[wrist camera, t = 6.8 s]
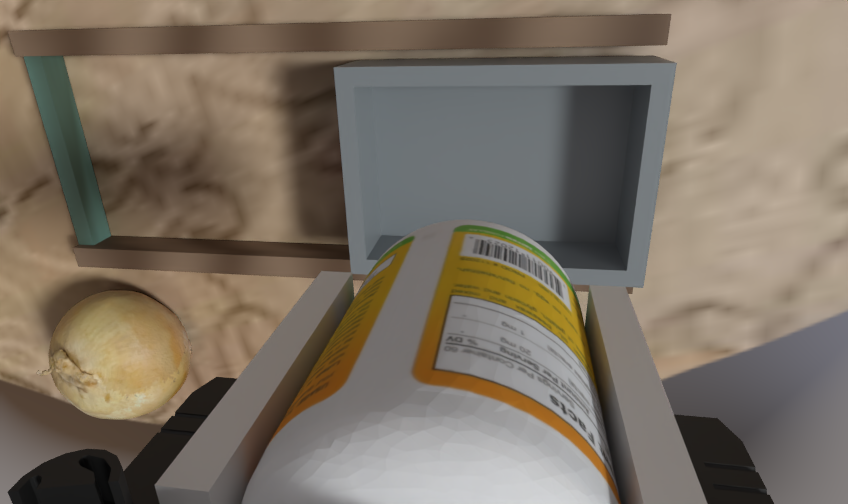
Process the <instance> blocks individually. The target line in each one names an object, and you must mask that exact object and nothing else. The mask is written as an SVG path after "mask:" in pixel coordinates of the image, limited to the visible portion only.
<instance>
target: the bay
mask: <svg viewBox="0 0 848 504" xmlns="http://www.w3.org/2000/svg"><path fill="white" fill-rule="evenodd" d="M670 20H671V14H642V15H603V16H564V17H525V18H486V19H447V20H409V21H370V22H331V23H292V24H253V25H214V26H175V27H136V28H98V29H59V30H25V31H8V34H9V37H10V40H11V44H12V47H13V50H14V54H15V56H24V60H25V63H26V67H27V70H28V73H29V77H30V80H31V83H32V87H33V90H34V94H35V97H36V100H37V104H38V107H39V111H40V114H41V117H42V121H43V124H44V128H45V131H46V134H47V138H48V141H49V144H50V148H51V151H52V155H53V158H54V161H55V165H56V168H57V172H58V175H59V178H60V182H61V185H62V189H63V192H64V195H65V199H66V202H67V205H68V209H69V212H70V216H71V219H72V222H73V226H74V229H75V233H76V236H77V239H78V243H79V245H77V246H75V247H74V248H73V250H74V253H75V257H76V260H77V263H78V266H79V267H100V268H120V269H140V270H161V271H181V272H201V273H221V274H242V275H262V276H282V277H302V278H316V277H317V276H318V275H319V273H320V272H321V271H332V272H351V265H350V253H349V245H329V244H304V243H278V242H253V241H227V240H202V239H176V238H151V237H125V236H111V233H110V230H109V226H108V222H107V219H106V215H105V211H104V207H103V204H102V200H101V196H100V192H99V189H98V185H97V181H96V178H95V174H94V170H93V166H92V163H91V159H90V155H89V152H88V148H87V144H86V140H85V137H84V133H83V129H82V125H81V122H80V118H79V114H78V111H77V107H76V103H75V99H74V96H73V92H72V88H71V84H70V81H69V77H68V73H67V70H66V66H65V62H64V58H63V56H70V55H128V54H185V53H243V52H300V51H358V50H415V49H473V48H530V47H588V46H645V45H667V41H668V34H669V27H670ZM352 276H353V280H363V281H364V280H365V279H366V277H367V275H365V274H352ZM572 285H573V287H574V289H575V291H586V292H589V285H575V284H572ZM626 290H627V292H628V294H632V291H633V287H626Z"/></svg>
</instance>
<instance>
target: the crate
mask: <svg viewBox="0 0 848 504" xmlns="http://www.w3.org/2000/svg"><path fill="white" fill-rule="evenodd" d="M676 64H677V63H675V62H672V61H669V60H666V59H663V58H660V57H656V56H592V57H523V58H455V59H387V60H357V61H353V62H350V63H347V64H343V65H340V66H336V67H334V78H335V89H336V101H337V113H338V125H339V136H340V148H341V160H342V171H343V183H344V195H345V207H346V218H347V230H348V242H349V253H350V265H351V273H352V274H365V275H368V274H369V273H370V271H371V269H372V268H373V266H374V265H375V264H376V262H377V261H378V260H379V258H380V257H381V256H382V255H383V254H384V253H385V252H386V251H387V250H388V249H389V248H390V247H391V246H392V245H393V244H395V243H396V242H397V241H399V240H400V239H402V238H403V237H405V236H406V235H408V234H410V233H412V232H414V231H416V230H418V229H420V228H423V227H425V226H428V225H431V224H434V223H439V222H444V221H451V220H480V221H486V222H491V223H495V224H499V225H502V226H505V227H508V228H511V229H513V230H516V231H518V232H520V233H522V234H524V235H525V236H527V237H529V238H531V239H532V240H534V241H535V242H536V243H538V244H539V245H540V246H542V247H543V248H544V249H545V250H546V251H547V252H548V253H549V254H551V255H552V256H553V257H554V259H555V260H556V261H557V262H558V263H559V264H560V266H561V267H562V268H563V270H564V271H565V273H566V274H567V276H568V277H569V279H570V281H571V283H572V284H575V285H599V286H617V287H638V288H643V286H644V279H645V273H646V266H647V259H648V252H649V246H650V239H651V232H652V225H653V219H654V212H655V205H656V198H657V192H658V185H659V178H660V172H661V165H662V158H663V151H664V145H665V138H666V131H667V124H668V118H669V111H670V104H671V98H672V91H673V84H674V77H675V71H676Z"/></svg>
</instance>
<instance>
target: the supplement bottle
mask: <svg viewBox="0 0 848 504" xmlns="http://www.w3.org/2000/svg"><path fill="white" fill-rule="evenodd" d="M241 504H621V500H620V497H619V490H618V486H617V483H616V479H615V474H614V470H613V464H612V459H611V454H610V449H609V445H608V440H607V434H606V430H605V426H604V420H603V415H602V409H601V403H600V399H599V395H598V390H597V385H596V381H595V375H594V370H593V366H592V360H591V356H590V351H589V346H588V341H587V336H586V331H585V326H584V321H583V317H582V312H581V308H580V305H579V301H578V297H577V295H576V292H575V289H574V287H573V285H572V283H571V281H570V279H569V277H568V276H567V274H566V273H565V271H564V270H563V268H562V267H561V266H560V264H559V263H558V262H557V261H556V260H555V259H554V257H553V256H552V255H551V254H549V253H548V252H547V251H546V250H545V249H544V248H543V247H542V246H540V245H539V244H538V243H536V242H535V241H534V240H532V239H531V238H529V237H527V236H525V235H524V234H522V233H520V232H518V231H516V230H513V229H511V228H508V227H505V226H502V225H499V224H495V223H491V222H486V221H480V220H451V221H444V222H439V223H434V224H431V225H428V226H425V227H423V228H420V229H418V230H416V231H414V232H412V233H410V234H408V235H406V236H405V237H403V238H402V239H400V240H399V241H397V242H396V243H395V244H393V245H392V246H391V247H390V248H389V249H388V250H387V251H386V252H385V253H384V254H383V255H382V256H381V257H380V258H379V260H378V261H377V262H376V264H375V265H374V266H373V268H372V269H371V271H370V273H369V274H368V275H367V277H366V279H365V280H364V282H363V284H362V286H361V287H360V289H359V291H358V293H357V294H356V296H355V298H354V300H353V302H352V304H351V305H350V307H349V309H348V310H347V312H346V314H345V315H344V317H343V319H342V320H341V322H340V324H339V326H338V327H337V329H336V331H335V333H334V335H333V336H332V337H331V339H330V340H329V342H328V344H327V346H326V348H325V349H324V351H323V353H322V354H321V355H320V357H319V359H318V361H317V362H316V364H315V365H314V367H313V369H312V371H311V372H310V374H309V376H308V378H307V379H306V381H305V383H304V384H303V386H302V388H301V389H300V391H299V393H298V395H297V396H296V398H295V400H294V401H293V403H292V404H291V406H290V408H289V409H288V411H287V413H286V415H285V417H284V418H283V420H282V422H281V423H280V425H279V427H278V428H277V430H276V432H275V434H274V435H273V437H272V439H271V441H270V442H269V444H268V446H267V448H266V450H265V452H264V454H263V456H262V458H261V460H260V462H259V464H258V466H257V468H256V470H255V472H254V473H253V475H252V477H251V479H250V481H249V483H248V486H247V489H246V491H245V494H244V497H243V500H242V503H241Z"/></svg>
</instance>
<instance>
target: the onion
mask: <svg viewBox="0 0 848 504" xmlns="http://www.w3.org/2000/svg"><path fill="white" fill-rule="evenodd" d="M191 353H192V351H191V343H190V340H189V339H188V336H187V333H186V331H185V329H184V326H182V324H181V322H180V321H179V319H178V317H177V316H176V315H175V314H174V313H173V312H171V311H170V310H169V309H168V308H166V307H165V306H164V305H162V304H160V303H159V302H157V301H156V300H154V299H152V298H150V297H148V296H146V295H144V294H142V293H138V292H134V291H125V290H110V291H104V292H100V293H97V294H94V295H91V296H89V297H87V298H85V299H83V300H82V301H80V302H79V303H77V304H76V305H74V306H73V307H72V308H71V309H70V310H69V311H68V312H67V313H66V314H65V315H64V317H62V319H61V320H60V322H59V323H58V325H57V327H56V329H55V331H54V333H53V336H52V339H51V342H50V349H49V365H50V369H48V371H46V370H45V371H39V370H38V371H37V372H36V373H37V375H39V374H41V375H40V376H43V375H48V374H51V375H52V378H53V381H54V383H55V385H56V387H57V388H58V390H59V391H60V393H61V394H62V395H63V396H64V397H65V398H66V399H67V400H68V401H69V402H70V403H71V404H73V405H74V406H75V407H77V408H78V409H79V410H81V411H83V412H84V413H86V414H88V415H90V416H93V417H97V418H102V419H130V418H135V417H139V416H142V415H145V414H148V413H150V412H152V411H154V410H156V409H158V408H160V407H161V406H162V405H164V404H165V403H166V402H168V401H169V400H170V399H171V398H172V397H173V396H174V395H175V394H176V393H177V392H178V391H179V390H180V388H181V387H182V385H183V384H184V382H185V380H186V378H187V375H188V372H189V368H190V359H191Z"/></svg>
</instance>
